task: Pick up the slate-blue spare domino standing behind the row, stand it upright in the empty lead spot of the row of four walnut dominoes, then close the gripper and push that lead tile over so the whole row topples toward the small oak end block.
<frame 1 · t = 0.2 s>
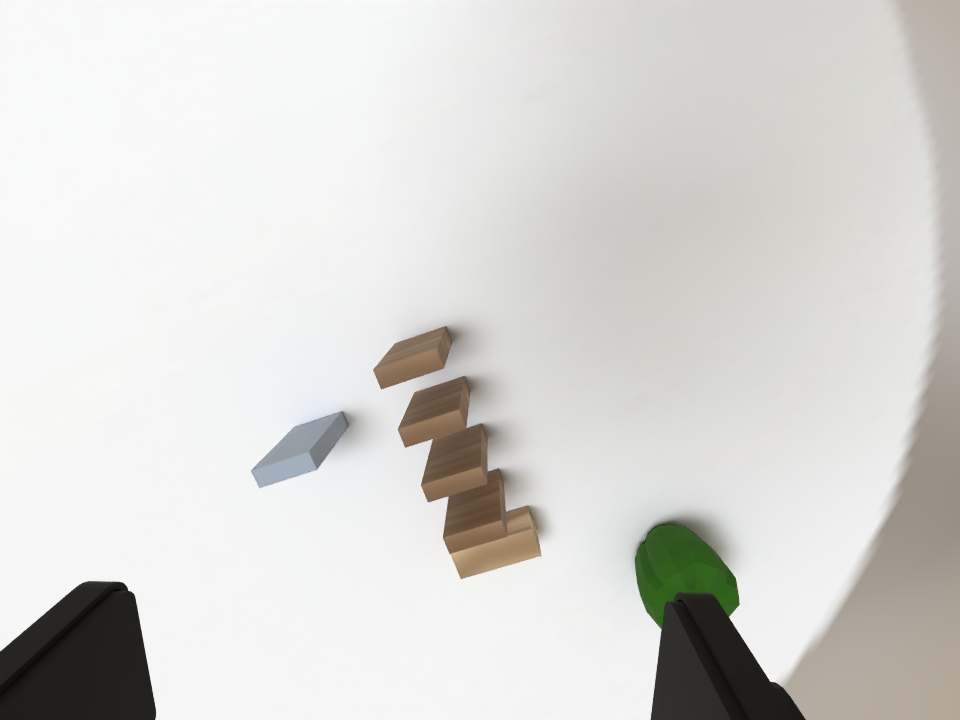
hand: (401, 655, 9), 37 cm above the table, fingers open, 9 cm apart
walnut tile 3: (460, 438, 47), on the table
walnut tile 2: (442, 392, 46), on the table
oak end block: (494, 529, 50), on the table
bell pepper: (664, 545, 50), on the table
slate tile: (321, 426, 47), on the table
walnut tile 1: (423, 343, 45), on the table
walnut tile 4: (477, 482, 48), on the table
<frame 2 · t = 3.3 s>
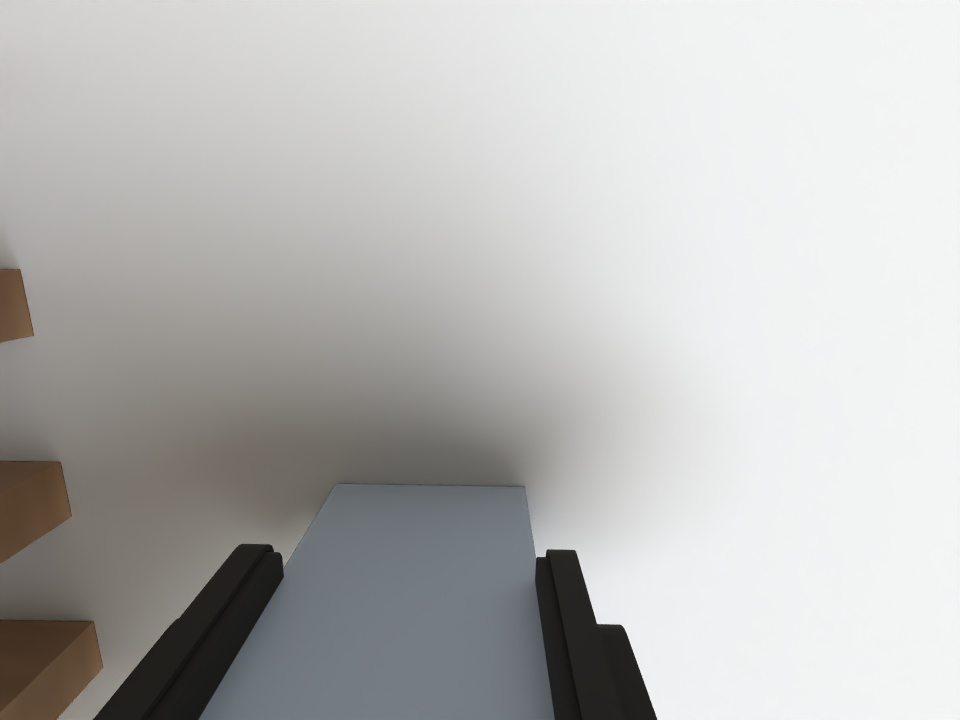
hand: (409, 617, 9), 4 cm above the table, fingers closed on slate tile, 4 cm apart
slate tile: (430, 512, 13), on the table, touching gripper
walnut tile 1: (13, 643, 14), on the table
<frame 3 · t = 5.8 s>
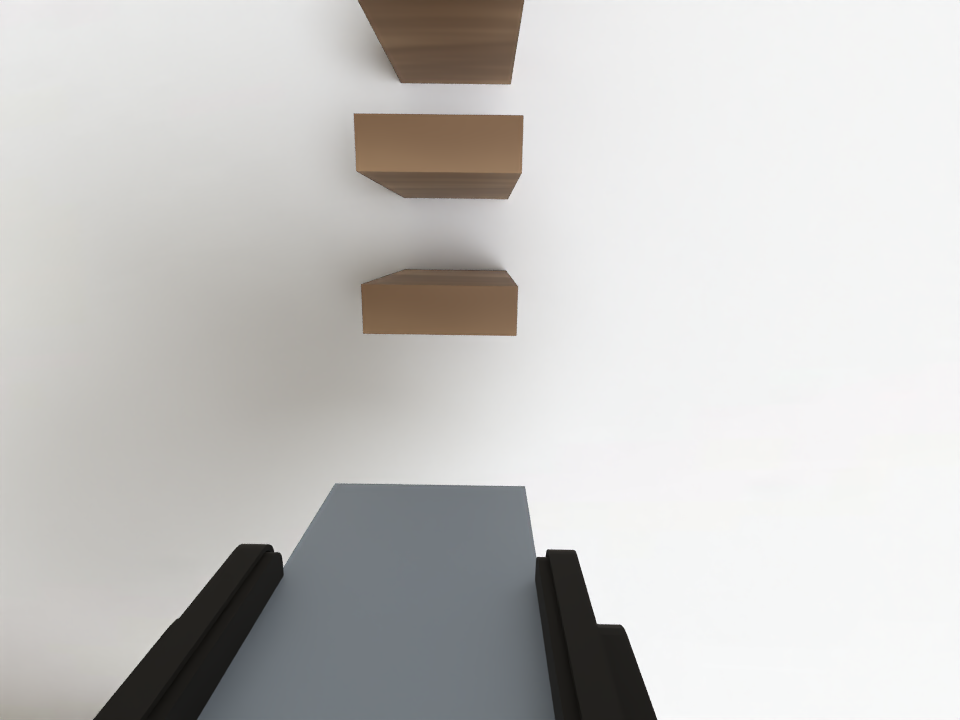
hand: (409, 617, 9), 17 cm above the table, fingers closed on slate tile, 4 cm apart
walnut tile 3: (455, 64, 22), on the table
walnut tile 2: (455, 180, 23), on the table
slate tile: (430, 512, 13), point 13 cm above the table, touching gripper
walnut tile 1: (455, 286, 25), on the table
when the fingers open (5 cm above the table, at t = 8.3 s): slate tile stays where it is, on the table.
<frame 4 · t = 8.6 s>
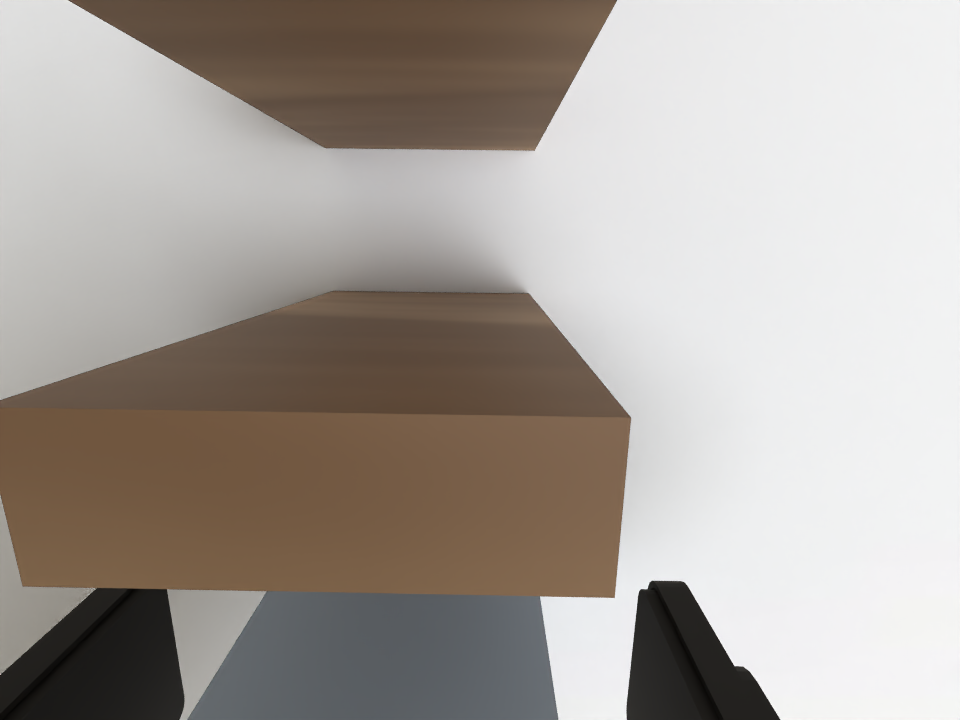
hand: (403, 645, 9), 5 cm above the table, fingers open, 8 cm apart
walnut tile 2: (429, 112, 11), on the table
slate tile: (432, 496, 14), on the table
walnut tile 1: (431, 323, 13), on the table
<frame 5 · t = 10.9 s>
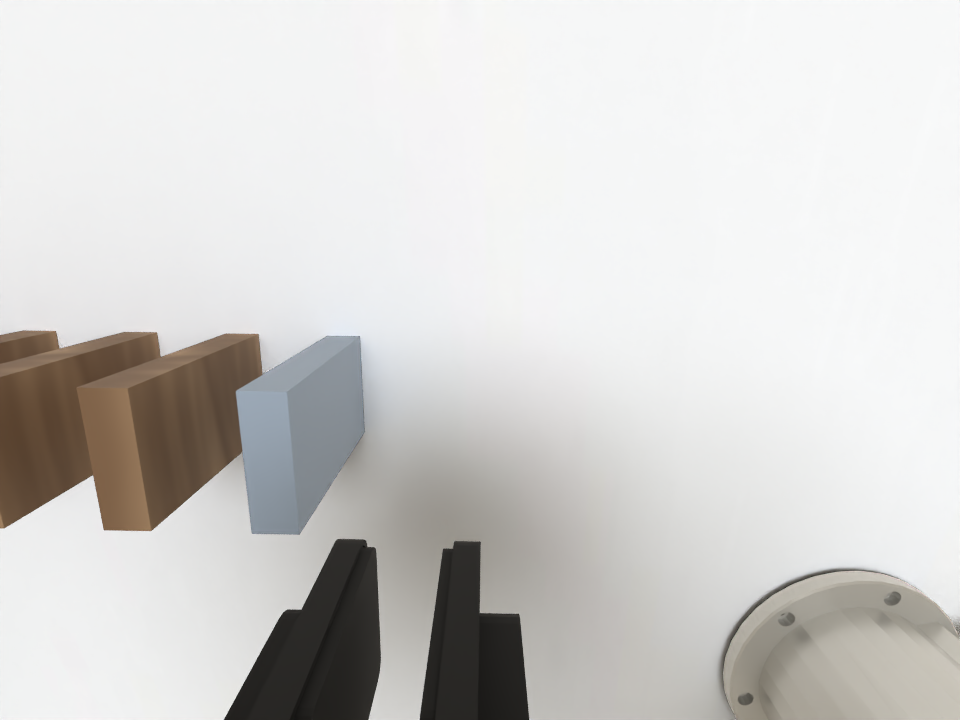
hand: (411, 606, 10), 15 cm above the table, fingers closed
walnut tile 3: (49, 379, 25), on the table
walnut tile 2: (148, 381, 25), on the table
slate tile: (346, 385, 25), on the table
walnut tile 1: (247, 382, 25), on the table
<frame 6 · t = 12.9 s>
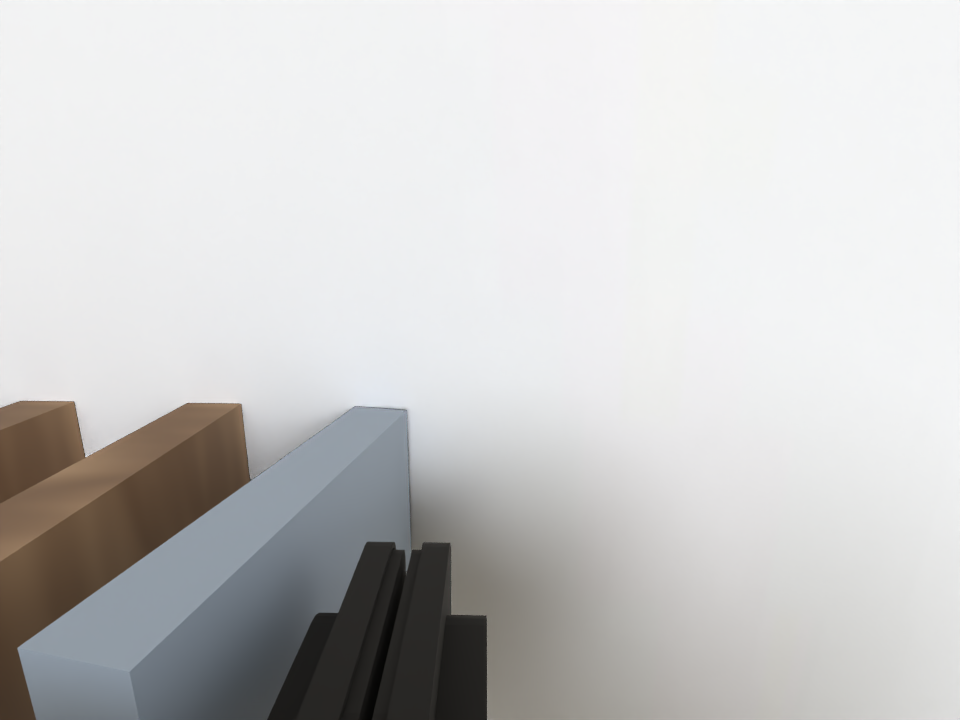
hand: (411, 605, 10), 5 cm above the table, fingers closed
walnut tile 2: (63, 478, 15), on the table
slate tile: (384, 486, 15), on the table, tilted 11°
walnut tile 1: (224, 480, 15), on the table
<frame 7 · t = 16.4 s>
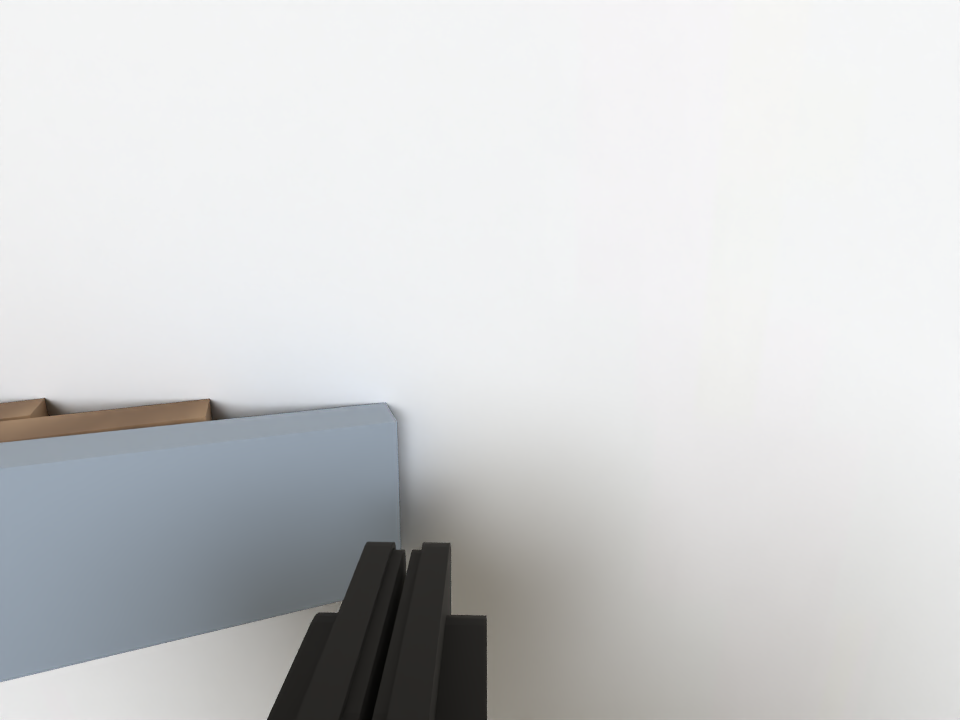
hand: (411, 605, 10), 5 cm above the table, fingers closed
walnut tile 2: (55, 488, 14), point 1 cm above the table, tilted 59°, touching walnut tile 1, walnut tile 3
slate tile: (393, 493, 14), point 1 cm above the table, tilted 68°, touching walnut tile 1
walnut tile 1: (217, 489, 14), point 1 cm above the table, tilted 65°, touching slate tile, walnut tile 2
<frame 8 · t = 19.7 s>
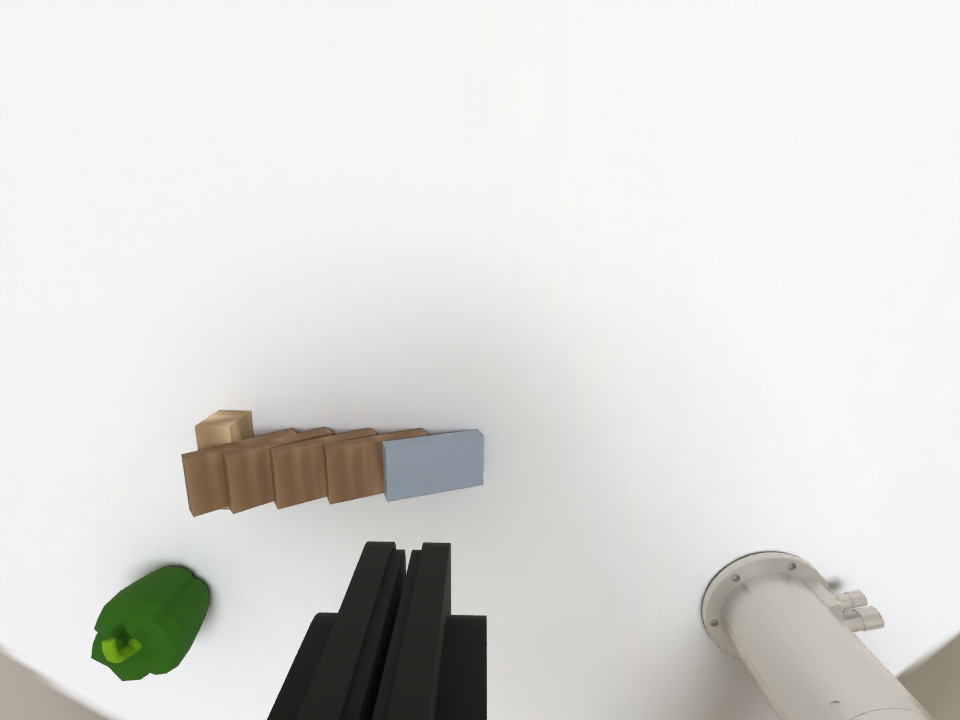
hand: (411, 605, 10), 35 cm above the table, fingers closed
walnut tile 3: (329, 453, 46), point 1 cm above the table, tilted 48°, touching walnut tile 2, walnut tile 4
walnut tile 2: (374, 455, 46), point 1 cm above the table, tilted 56°, touching walnut tile 1, walnut tile 3
oak end block: (239, 449, 47), on the table
bell pepper: (184, 587, 51), on the table
slate tile: (480, 456, 46), point 1 cm above the table, tilted 68°, touching walnut tile 1
walnut tile 1: (424, 455, 46), point 1 cm above the table, tilted 63°, touching slate tile, walnut tile 2
walnut tile 4: (296, 455, 46), point 1 cm above the table, tilted 48°, touching oak end block, walnut tile 3
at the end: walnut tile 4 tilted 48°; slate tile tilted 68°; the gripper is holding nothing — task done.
